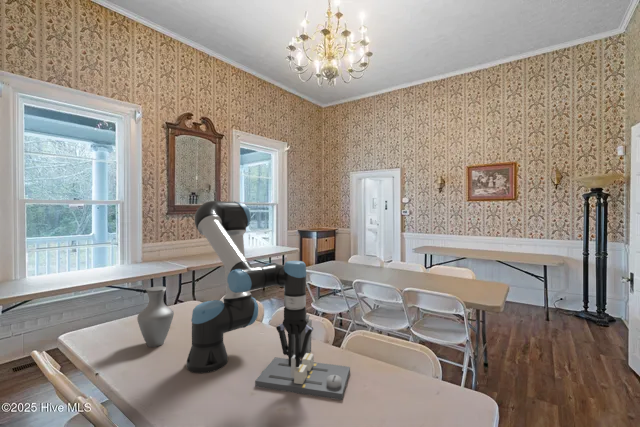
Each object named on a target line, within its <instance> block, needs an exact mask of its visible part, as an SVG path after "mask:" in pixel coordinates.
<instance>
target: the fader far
mask: <svg viewBox="0 0 640 427" xmlns="http://www.w3.org/2000/svg"><path fill="white" fill-rule="evenodd" d="M314 355H315V354H314V353H312V352H310V353H306V354H305V355H304V357H303V358H301V361H302V364H304V365H307V371H310V370H311V368H312V367H313V365H314V362H315V360H314V359H315V358H314Z"/></svg>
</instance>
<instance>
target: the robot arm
mask: <svg viewBox="0 0 640 427" xmlns="http://www.w3.org/2000/svg"><path fill="white" fill-rule="evenodd" d="M251 219H252V216H251V211H250V209H249V207H248V206H247V205H246V204H245V203H244V202H239V201H227V200H226V201H225V200H223V201H217V200H208V201H206V202H203V204H201V205H200V206H199V207H198V208H197V209H196V212H195V214H194V218H193V220H194V225H195V228H196V230H197V231H198V232H199V234H200V235H202V236H204V237H205V238H206V241H207V242H208V243H209V244H210V246H211V247H212V249H213V251H214V253H216V255H217V257H218V258H219V260H220V262H221V263H222V264H223V266H224V272H225V274H224V275H225V286H226V287H225V288H226V293H225V295H224V296H223V301H222V300H219V299H213V300H208V301H207V300H206V301H203V302H201V303H199V304H197V305H196V306H195V307H194V308H193V310H192V314H191V315H192V316H191V347H190V350H189V353H188V355H187V359H186V369H187V370H188V371H189V372H191V373H195V374H207V373H212V372H215V371H218V370H221V369H222V368H224V367H225V366H227V364H228V362H229V361H228V360H229V357H228V353H227V349H226V346H225V344H224V335H225V334H226V333H229V332H233V331H235V330H239V329H243V328H246V327H248V326H252V325H253V324H254V323H255V322H256V321H257V319H258V316H259V305H258V304H259V303H258V302H257V300H256V298H255V297H253V296H252V293H251V291H253V290H259V289H264V288H269V287H275V286H277V287H281V288H283V290H284V292H283V295H284V296H283V306H284V307H283V321H282V323H279V324H278V325H277V326H276V327H275V328H276V331H277V333H278V335H279V339H280V344H281V349H282V353H283V355H284V356H288V359H289V362H288V365H289V366H291V377H293V378H294V371H295V369H296V368H297V367H299V366H300V360H301V358H302V357H303V356H304V355H305V353H306V350H307V346H308V342H309V338H310V334H311V335H312V332H313V331H314V327H311V328H310V327H309V326H308V325H307V322H306V315H307V314H306V310H307V308H306V306H307V304H306V303H307V293H306V292H307V266H306V265H307V264H306V263H305V262H304V261H302V260H287V261H286V262H284V264H280V263H275V262H268V263H265V264H264V265H260V266H252V264H251V263H250V262H249V261H248V259H247V258H246V256H245V255H246V254H245V244H244V234H245V233H246V232H247V228H248V227H249V226H250V224H251V223H250V222H251V221H252V220H251ZM304 329H306V330H305V332H306V335H305V338H304V342H303V346H302V350H301V333H302V331H303V330H304ZM286 332H287V336H286ZM294 334H295V355H293V354H294ZM287 338H288V340H287Z"/></svg>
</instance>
